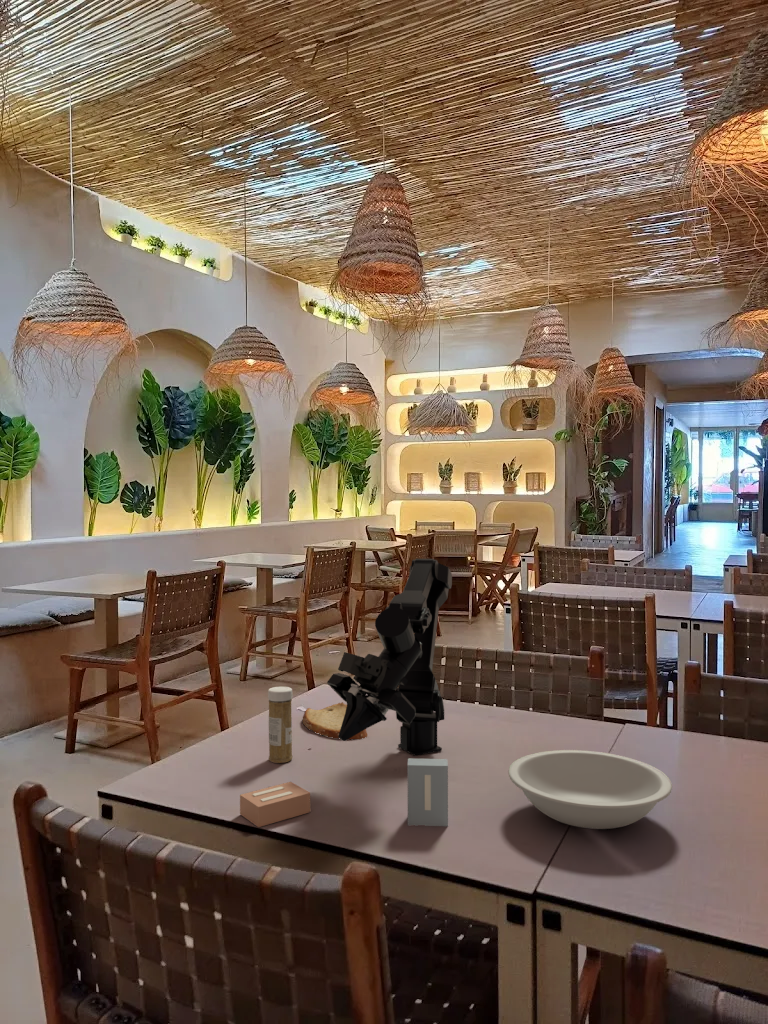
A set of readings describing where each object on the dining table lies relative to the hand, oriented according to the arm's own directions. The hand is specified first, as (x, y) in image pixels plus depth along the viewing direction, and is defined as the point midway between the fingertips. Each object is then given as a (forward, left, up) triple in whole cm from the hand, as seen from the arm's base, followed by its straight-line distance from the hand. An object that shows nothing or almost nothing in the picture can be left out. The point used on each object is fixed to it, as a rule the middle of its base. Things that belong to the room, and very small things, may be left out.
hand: (341, 739), depth 122 cm
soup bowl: (-29, +27, -9) cm, 40 cm away
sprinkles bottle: (+2, -21, -9) cm, 23 cm away
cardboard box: (+8, +1, -8) cm, 11 cm away
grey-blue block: (-7, +16, -9) cm, 20 cm away
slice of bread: (-17, -36, -10) cm, 41 cm away
